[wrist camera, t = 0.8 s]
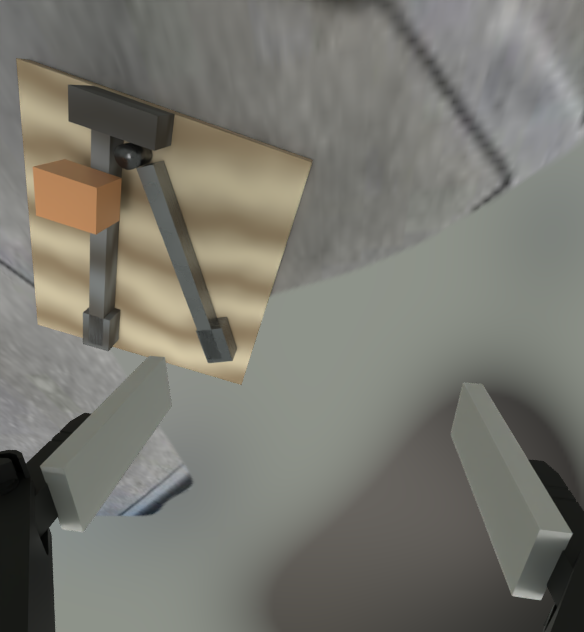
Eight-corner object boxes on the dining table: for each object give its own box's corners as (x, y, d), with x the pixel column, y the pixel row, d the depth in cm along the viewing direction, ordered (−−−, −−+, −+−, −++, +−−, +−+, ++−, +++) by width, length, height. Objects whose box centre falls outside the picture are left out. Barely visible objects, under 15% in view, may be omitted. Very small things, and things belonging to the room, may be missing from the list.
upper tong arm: (127, 142, 33) (110, 146, 30) (168, 133, 32) (154, 137, 30) (205, 351, 44) (198, 367, 42) (237, 348, 44) (231, 364, 41)
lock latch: (64, 159, 32) (32, 166, 28) (121, 178, 32) (96, 187, 29) (65, 203, 34) (36, 215, 30) (119, 220, 34) (95, 234, 31)
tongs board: (29, 59, 32) (-20, 54, 27) (312, 160, 34) (310, 169, 29) (46, 318, 46) (16, 341, 42) (243, 377, 48) (235, 405, 44)
